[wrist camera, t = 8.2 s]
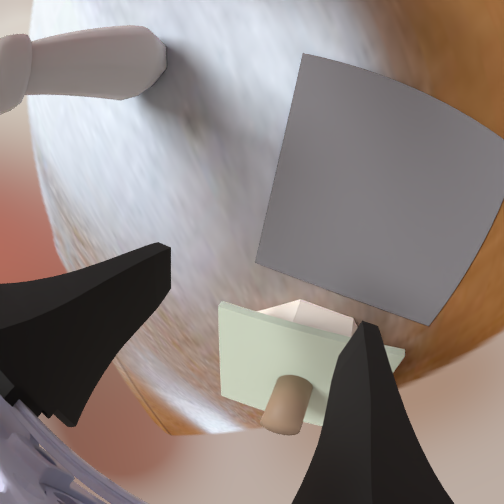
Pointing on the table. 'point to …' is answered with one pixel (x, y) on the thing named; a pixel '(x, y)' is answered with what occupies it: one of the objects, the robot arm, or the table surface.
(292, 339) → the cover
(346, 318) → the bowl
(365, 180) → the mat
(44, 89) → the salt shaker
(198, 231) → the table surface
